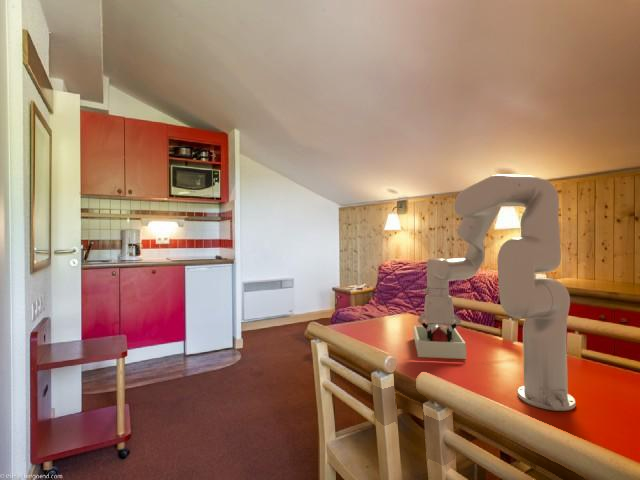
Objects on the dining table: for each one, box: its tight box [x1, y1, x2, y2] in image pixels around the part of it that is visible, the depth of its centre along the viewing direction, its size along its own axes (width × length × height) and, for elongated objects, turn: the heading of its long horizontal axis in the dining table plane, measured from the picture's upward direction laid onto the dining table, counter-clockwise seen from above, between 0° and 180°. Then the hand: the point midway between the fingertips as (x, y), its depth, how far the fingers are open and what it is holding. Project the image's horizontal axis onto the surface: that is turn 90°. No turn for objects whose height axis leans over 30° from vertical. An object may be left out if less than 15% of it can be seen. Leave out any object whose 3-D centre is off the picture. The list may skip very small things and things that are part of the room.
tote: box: [413, 325, 467, 360], centre depth 131 cm, size 22×16×6 cm
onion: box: [432, 326, 448, 342], centre depth 126 cm, size 6×6×8 cm
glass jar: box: [427, 324, 445, 341], centre depth 137 cm, size 6×6×9 cm
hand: (439, 340), depth 126 cm, fingers closed on onion, 5 cm apart
